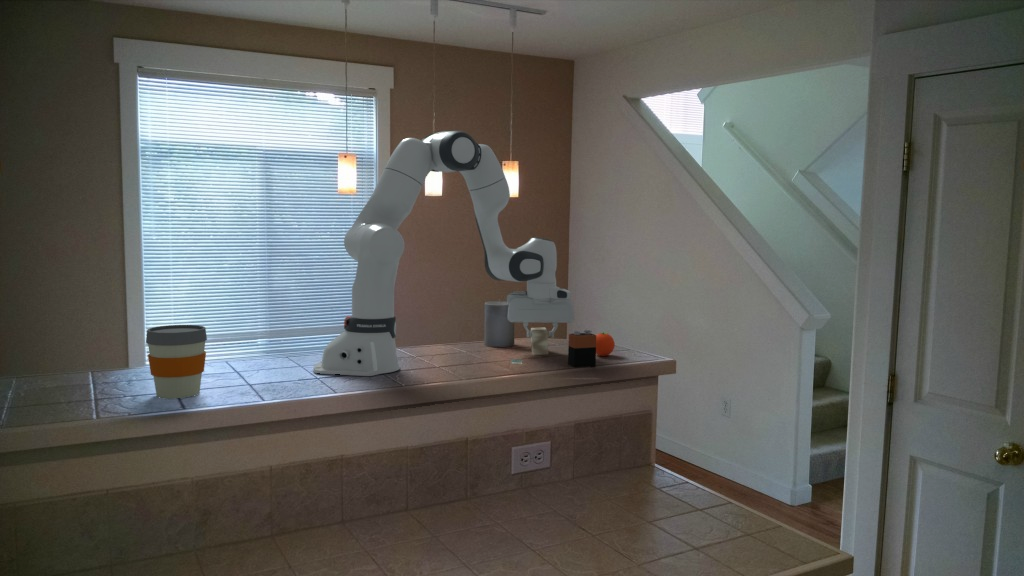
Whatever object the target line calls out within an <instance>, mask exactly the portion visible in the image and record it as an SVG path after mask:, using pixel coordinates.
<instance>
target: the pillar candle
mask: <svg viewBox="0 0 1024 576" xmlns="http://www.w3.org/2000/svg"><path fill="white" fill-rule="evenodd" d="M508 307H509V306H508V304H507V300H501V299H499V300H495V301H493V300H492V301H485V302H484V334H483V335H484V346H486V347H491V348H509V347H513V346H514V345H515V322H510V321H509V320H508V319H507V315H508Z"/></svg>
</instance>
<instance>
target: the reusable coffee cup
mask: <svg viewBox="0 0 1024 576" xmlns="http://www.w3.org/2000/svg"><path fill="white" fill-rule="evenodd" d="M207 340H208V337H207V329H206V327H205V326H204V325H198V324H197V325H196V324H169V325H161V326H153V327H150V328H147V329H146V337H145V343H146V344H147V346H148V354H147V358H148V365H149V371H150V375H151V376H152V377H153V382H154V389H155V395H156V397H157V398H159V397H160V398H159V399H163V398H166V399H165V400H175V399H174V398H180V399H185V398H184V397H188V398H191V397H190V396H193V397H195V396H194V395H196V396H198V395H199V394H200V393H201V392H200V391H201V385H202V376H203V372H205V367H206V356H207V351H206V350H205V347H206V341H207ZM197 394H198V395H197Z"/></svg>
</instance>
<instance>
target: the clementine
mask: <svg viewBox="0 0 1024 576" xmlns="http://www.w3.org/2000/svg"><path fill="white" fill-rule="evenodd" d="M595 335H596V355H598V356H600V355H601V357H606V356H609V355H610V354H612V353H613V352H614V349H615V345H616V344H615V340H614V338H613V337H612V336H611V335H610V334H609V333H608V332H604V331H603V332H600V333H597V334H595Z"/></svg>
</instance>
